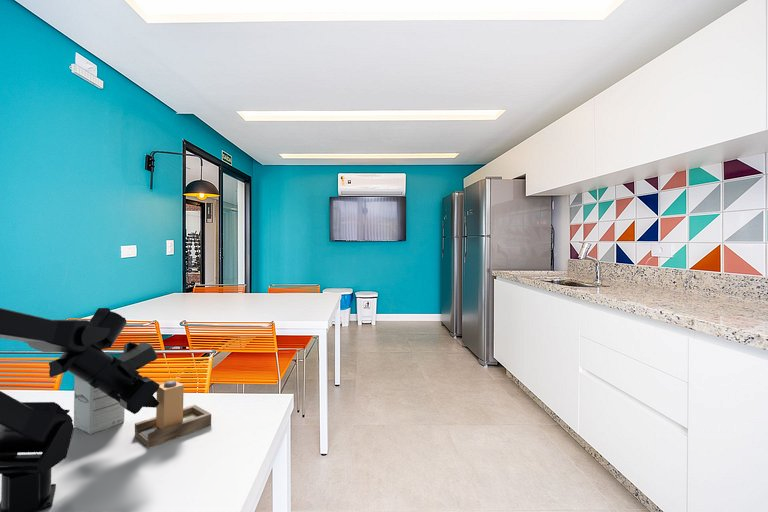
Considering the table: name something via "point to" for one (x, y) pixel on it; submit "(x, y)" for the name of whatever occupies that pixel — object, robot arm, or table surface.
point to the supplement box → (94, 408)
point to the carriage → (169, 404)
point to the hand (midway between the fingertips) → (157, 405)
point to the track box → (172, 427)
